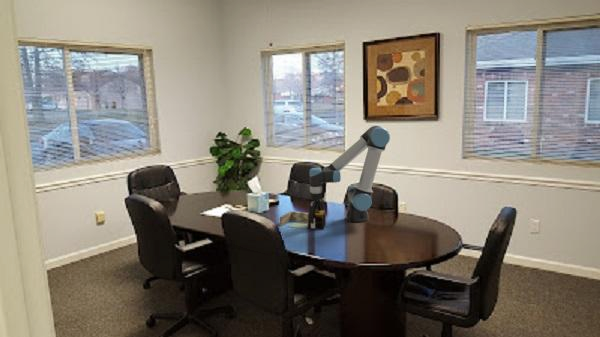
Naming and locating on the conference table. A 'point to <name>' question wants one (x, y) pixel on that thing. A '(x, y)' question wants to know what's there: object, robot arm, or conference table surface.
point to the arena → (293, 217)
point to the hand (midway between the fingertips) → (317, 225)
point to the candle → (318, 220)
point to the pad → (299, 225)
